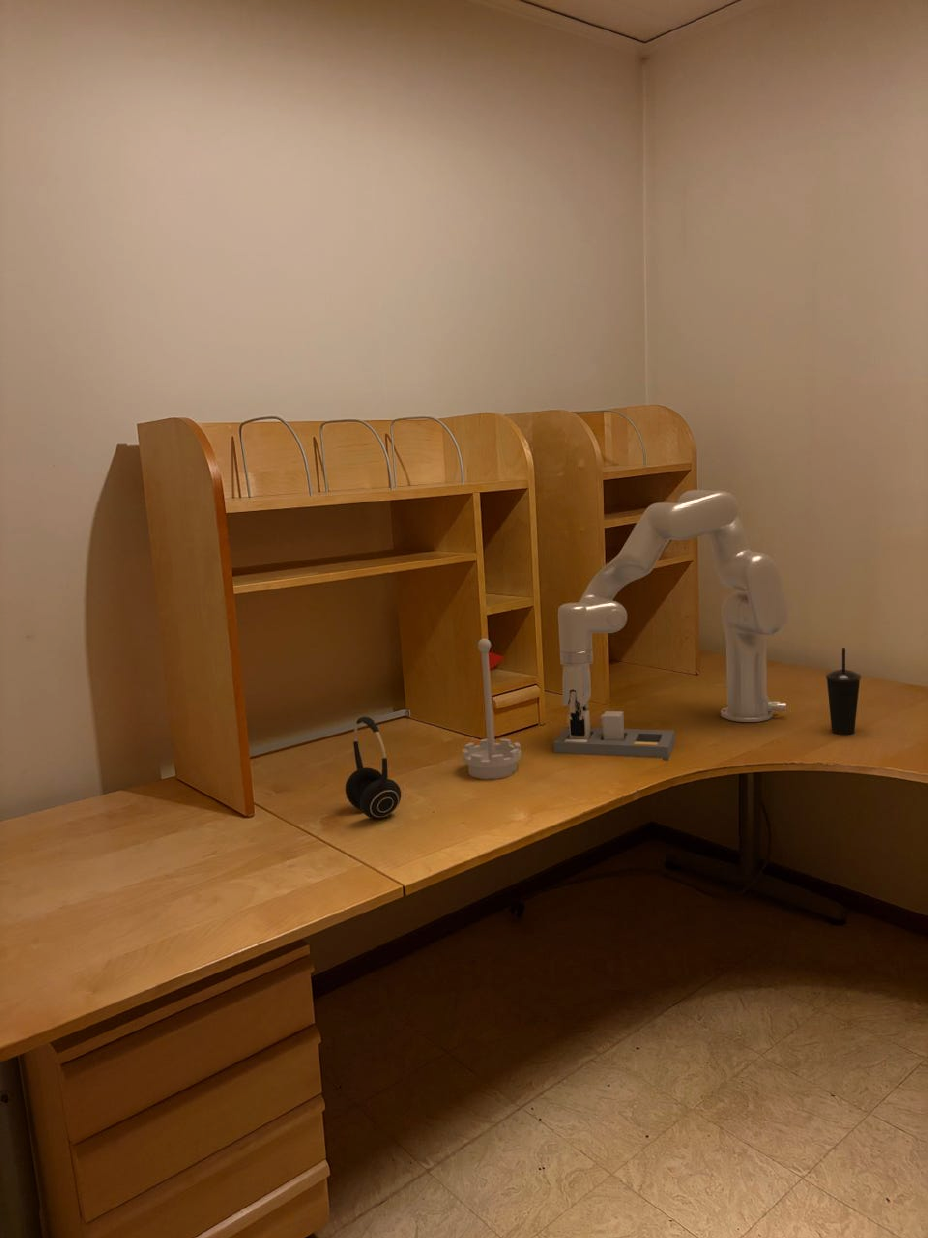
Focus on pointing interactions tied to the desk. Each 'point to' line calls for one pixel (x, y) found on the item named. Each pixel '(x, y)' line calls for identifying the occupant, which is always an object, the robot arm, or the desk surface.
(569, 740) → the grey slotted tray
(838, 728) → the drinking cup
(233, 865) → the desk surface
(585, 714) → the ivory plug
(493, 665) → the flag stand
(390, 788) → the headphones
